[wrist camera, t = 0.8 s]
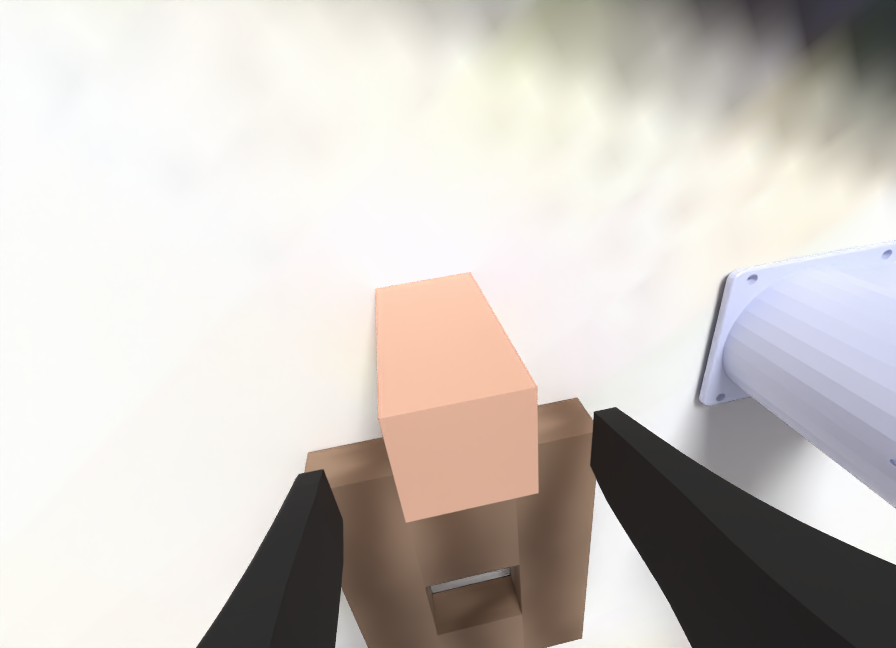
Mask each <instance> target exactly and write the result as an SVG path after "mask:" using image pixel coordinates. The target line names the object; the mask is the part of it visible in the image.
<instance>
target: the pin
mask: <svg viewBox="0 0 896 648" xmlns="http://www.w3.org/2000/svg"><path fill="white" fill-rule="evenodd" d="M376 332H377V380H378V420H379V423H380V427H381V431H382V435H383V438H384V442H385V446H386V450H387V454H388V457H389V461H390V465H391V469H392V472H393V476H394V480H395V484H396V487H397V491H398V495H399V499H400V502H401V506H402V510H403V514H404V517H405V521H406V523H407V522H411V521H416V520H420V519H425V518H429V517H434V516H438V515H443V514H447V513H452V512H456V511H460V510H465V509H469V508H474V507H478V506H483V505H487V504H492V503H496V502H501V501H505V500H510V499H514V498H518V497H523V496H527V495H532V494H536V493H539V485H538V409H537V386H536V384H535V382H534V381H533V379H532V377H531V375H530V374H529V372H528V370H527V369H526V367H525V365H524V363H523V362H522V360H521V358H520V357H519V355H518V353H517V351H516V350H515V348H514V346H513V345H512V343H511V341H510V339H509V338H508V336H507V334H506V333H505V331H504V329H503V327H502V326H501V324H500V322H499V321H498V319H497V317H496V315H495V314H494V312H493V310H492V308H491V307H490V305H489V303H488V302H487V300H486V298H485V296H484V295H483V293H482V291H481V290H480V288H479V286H478V284H477V283H476V281H475V279H474V278H473V276H472V274H471V272H469V273H463V274H457V275H452V276H446V277H440V278H434V279H429V280H423V281H417V282H411V283H406V284H400V285H394V286H388V287H383V288H377V289H376Z"/></svg>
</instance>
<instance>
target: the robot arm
mask: <svg viewBox="0 0 896 648" xmlns="http://www.w3.org/2000/svg"><path fill="white" fill-rule="evenodd" d="M749 277H750V278H749ZM748 278H749V279H748ZM747 279H748V280H747ZM748 397H752V398H754V399H755V400H756V401H758V402H759V403H760V404H762V405H763V406H764V407H765V408H767V409H768V410H769V411H771V412H772V413H773V414H774V415H776V416H777V417H778V418H780V419H781V420H782V421H783V422H785V423H786V424H787V425H789V426H790V427H791V428H792V429H794V430H795V431H796V432H798V433H799V434H800V435H801V436H803V437H804V438H805V439H807V440H808V441H809V442H811V443H812V444H813V445H814V446H816V447H817V448H818V449H820V450H821V451H822V452H823V453H825V454H826V455H827V456H829V457H830V458H831V459H832V460H834V461H835V462H836V463H838V464H839V465H840V466H841V467H843V468H844V469H845V470H847V471H848V472H849V473H850V474H852V475H853V476H854V477H856V478H857V479H858V480H860V481H861V482H862V483H863V484H865V485H866V486H867V487H869V488H870V489H871V490H872V491H874V492H875V493H876V494H878V495H879V496H880V497H881V498H883V499H884V500H885V501H887V502H888V503H889V504H890V505H892V506H893V507H894V508H896V240H894V241H888V242H883V243H877V244H872V245H866V246H861V247H855V248H850V249H845V250H839V251H834V252H828V253H823V254H817V255H812V256H806V257H801V258H795V259H790V260H784V261H779V262H774V263H768V264H763V265H757V266H752V267H746V268H741V269H737V270H735V271H733V272H732V273H731V274H730V275H729V276H728V278H727V281H726V285H725V289H724V294H723V298H722V302H721V306H720V311H719V315H718V319H717V323H716V328H715V332H714V336H713V340H712V345H711V349H710V353H709V357H708V362H707V366H706V370H705V374H704V379H703V383H702V387H701V391H700V396H699V400H700V401H701V402H702V403H703V404H704V405H706V406H710V405H715V404H720V403H724V402H729V401H734V400H738V399H743V398H748ZM590 466H591V469H592V471H593V473H594V475H595V477H596V479H597V482H598V484H599V486H600V488H601V490H602V492H603V494H604V496H605V498H606V500H607V502H608V504H609V505H610V507H611V509H612V510H613V512H614V514H615V515H616V517H617V519H618V520H619V522H620V523H621V525H622V527H623V528H624V530H625V532H626V533H627V535H628V536H629V538H630V540H631V541H632V543H633V544H634V546H635V548H636V549H637V551H638V552H639V554H640V556H641V557H642V559H643V560H644V562H645V564H646V565H647V567H648V568H649V570H650V572H651V573H652V575H653V576H654V578H655V580H656V581H657V583H658V584H659V586H660V588H661V590H662V591H663V593H664V595H665V597H666V598H667V600H668V602H669V604H670V605H671V607H672V609H673V611H674V613H675V615H676V617H677V619H678V621H679V623H680V625H681V627H682V629H683V631H684V633H685V635H686V637H687V639H688V641H689V642H690V644H691V646H692V648H896V565H895V564H892V563H890V562H888V561H885V560H883V559H881V558H878V557H876V556H874V555H871V554H869V553H867V552H864V551H862V550H860V549H858V548H856V547H854V546H851V545H849V544H847V543H845V542H843V541H841V540H838V539H836V538H834V537H832V536H830V535H828V534H825V533H823V532H821V531H819V530H817V529H815V528H813V527H811V526H809V525H807V524H805V523H803V522H801V521H799V520H797V519H795V518H793V517H791V516H789V515H787V514H785V513H783V512H782V511H780V510H778V509H776V508H774V507H772V506H770V505H768V504H766V503H765V502H763V501H761V500H759V499H757V498H755V497H754V496H752V495H750V494H748V493H746V492H745V491H743V490H741V489H740V488H738V487H736V486H735V485H733V484H731V483H730V482H728V481H726V480H724V479H723V478H721V477H719V476H718V475H716V474H714V473H713V472H711V471H710V470H708V469H706V468H705V467H703V466H702V465H700V464H699V463H697V462H695V461H694V460H692V459H691V458H689V457H688V456H686V455H685V454H683V453H682V452H680V451H679V450H677V449H676V448H674V447H673V446H671V445H670V444H668V443H667V442H665V441H664V440H662V439H661V438H659V437H658V436H657V435H655V434H654V433H652V432H651V431H649V430H648V429H646V428H645V427H644V426H642V425H641V424H639V423H638V422H636V421H635V420H634V419H632V418H631V417H629V416H628V415H626V414H625V413H623V412H622V411H621V410H619V409H618V408H616V407H614V408H609V409H605V410H600V411H595V412H594V419H593V432H592V445H591V458H590ZM343 562H344V540H343V518H342V516H341V513H340V511H339V508H338V505H337V503H336V500H335V498H334V495H333V492H332V490H331V487H330V484H329V482H328V479H327V477H326V474H325V471H324V469H320V470H316V471H311V472H306V473H301V474H299V475H298V476H297V477H296V479H295V481H294V483H293V485H292V487H291V489H290V491H289V493H288V495H287V497H286V499H285V501H284V503H283V505H282V507H281V509H280V511H279V512H278V514H277V516H276V518H275V520H274V522H273V524H272V526H271V527H270V529H269V531H268V533H267V535H266V536H265V538H264V540H263V542H262V544H261V545H260V547H259V549H258V551H257V552H256V554H255V556H254V558H253V560H252V561H251V563H250V565H249V566H248V568H247V570H246V571H245V573H244V575H243V576H242V578H241V579H240V581H239V583H238V584H237V586H236V588H235V589H234V591H233V592H232V594H231V596H230V597H229V599H228V601H227V602H226V604H225V605H224V607H223V608H222V610H221V612H220V613H219V615H218V616H217V618H216V619H215V621H214V622H213V624H212V625H211V627H210V628H209V630H208V631H207V633H206V634H205V636H204V637H203V638H202V640H201V641H200V643H199V644H198V646H197V647H196V648H335V642H336V633H337V623H338V613H339V604H340V594H341V584H342V573H343Z"/></svg>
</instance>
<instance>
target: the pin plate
mask: <svg viewBox="0 0 896 648" xmlns="http://www.w3.org/2000/svg"><path fill="white" fill-rule="evenodd" d="M537 409H538V485H539V493H536V494H532V495H527V496H523V497H518V498H514V499H510V500H505V501H501V502H496V503H492V504H487V505H483V506H478V507H474V508H469V509H465V510H460V511H456V512H452V513H447V514H443V515H438V516H434V517H429V518H425V519H420V520H416V521H411V522H407V523H406V521H405V517H404V514H403V510H402V506H401V502H400V499H399V495H398V491H397V487H396V484H395V480H394V476H393V472H392V469H391V465H390V461H389V457H388V454H387V450H386V446H385V442H384V438H378V439H373V440H368V441H363V442H358V443H353V444H349V445H344V446H339V447H334V448H329V449H324V450H319V451H314V452H309V453H308V456H307V461H306V467H305V472H304V473H306V472H311V471H316V470H320V469H324V471H325V474H326V477H327V479H328V482H329V484H330V487H331V490H332V492H333V495H334V498H335V500H336V503H337V505H338V508H339V511H340V513H341V516H342V518H343V540H344V562H343V573H342V584H341V588H342V590H343V592H344V594H345V597H346V599H347V601H348V603H349V606H350V608H351V610H352V612H353V615H354V617H355V619H356V621H357V624H358V626H359V628H360V630H361V633H362V635H363V637H364V639H365V642H366V644H367V646H368V648H547V647H550V646H554V645H558V644H562V643H566V642H570V641H574V640H578V639H582V633H583V621H584V610H585V599H586V587H587V576H588V565H589V553H590V542H591V531H592V519H593V508H594V497H595V485H596V477H595V475H594V473H593V471H592V469H591V466H590V458H591V445H592V432H593V420H592V418H591V417H590V415H589V414H588V412H587V411H586V410H585V408H584V407H583V405H582V404H581V402H580V401H579V399H578V398H573V399H568V400H564V401H559V402H554V403H549V404H544V405H539V406H537ZM508 567H510V573H511V575H510V576H505V577H501V578H497V579H493V580H489V581H485V582H480V583H476V584H472V585H468V586H464V587H460V588H455V589H451V590H447V591H443V592H439V593H435V594H432V590H431V586H432V585H436V584H441V583H445V582H449V581H453V580H457V579H462V578H466V577H470V576H474V575H478V574H483V573H487V572H491V571H495V570H499V569H504V568H508Z"/></svg>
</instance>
